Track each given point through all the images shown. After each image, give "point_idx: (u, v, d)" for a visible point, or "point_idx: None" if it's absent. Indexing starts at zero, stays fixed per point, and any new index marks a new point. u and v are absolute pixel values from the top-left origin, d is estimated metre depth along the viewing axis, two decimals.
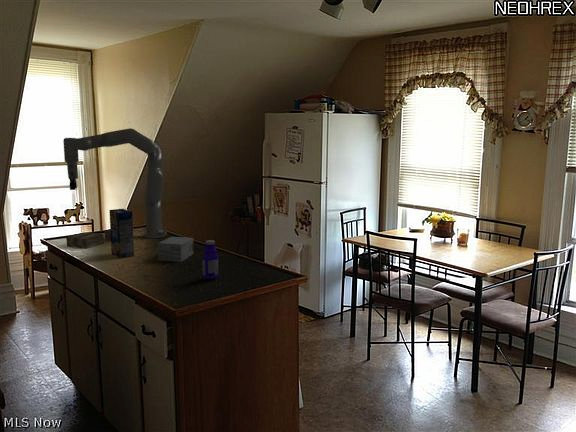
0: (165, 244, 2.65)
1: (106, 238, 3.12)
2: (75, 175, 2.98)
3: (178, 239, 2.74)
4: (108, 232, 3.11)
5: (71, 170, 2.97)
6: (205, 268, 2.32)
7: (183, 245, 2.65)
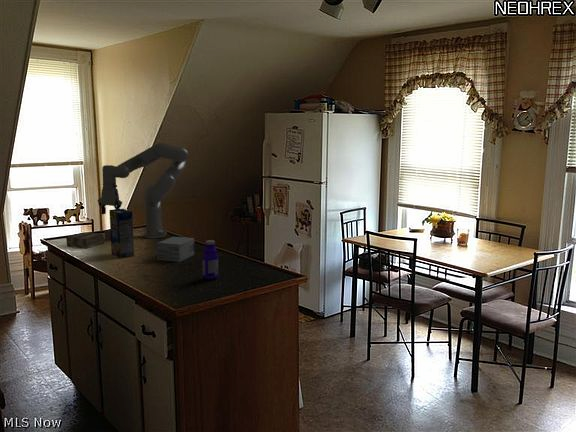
0: (164, 244, 2.65)
1: (106, 238, 3.12)
2: None
3: (178, 239, 2.74)
4: (108, 232, 3.11)
5: (116, 197, 3.08)
6: (205, 268, 2.32)
7: (181, 246, 2.65)
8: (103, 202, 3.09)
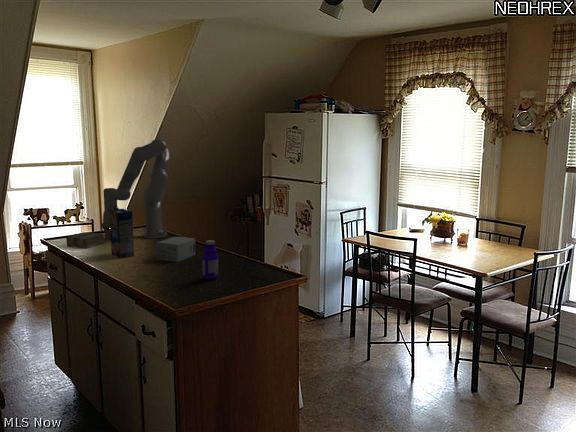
0: (163, 244, 2.66)
1: (106, 238, 3.12)
2: None
3: (179, 239, 2.74)
4: (108, 232, 3.11)
5: None
6: (205, 268, 2.32)
7: (180, 246, 2.65)
8: (105, 225, 3.12)
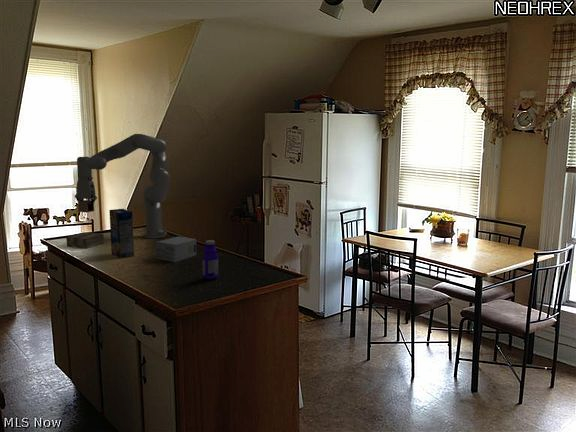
0: (162, 243, 2.66)
1: (80, 210, 2.95)
2: (94, 194, 2.96)
3: (179, 239, 2.74)
4: (81, 203, 2.94)
5: (92, 189, 2.94)
6: (205, 268, 2.32)
7: (177, 246, 2.64)
8: (78, 195, 2.95)
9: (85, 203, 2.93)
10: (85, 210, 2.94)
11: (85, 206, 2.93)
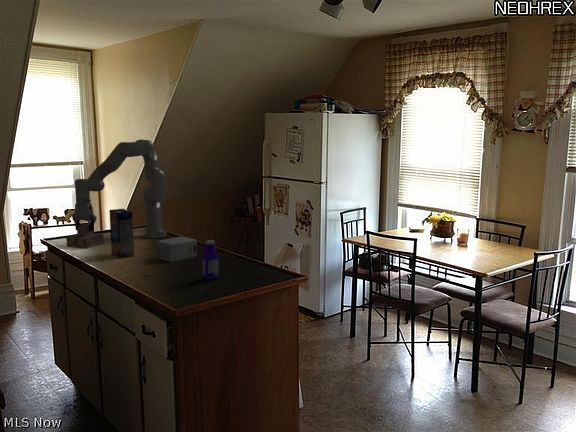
0: (160, 243, 2.68)
1: (79, 234, 2.96)
2: None
3: (180, 239, 2.73)
4: (80, 227, 2.95)
5: (90, 211, 2.94)
6: (205, 268, 2.32)
7: (174, 246, 2.64)
8: (77, 217, 2.96)
9: (84, 228, 2.94)
10: (84, 234, 2.95)
11: (84, 231, 2.94)
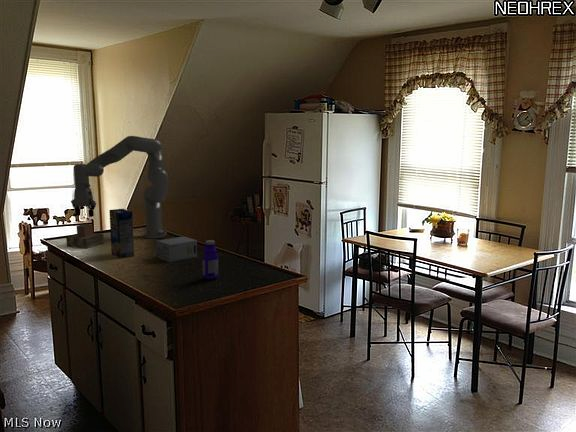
0: (160, 242, 2.68)
1: (78, 234, 2.96)
2: None
3: (180, 239, 2.73)
4: (80, 227, 2.95)
5: (89, 197, 2.93)
6: (205, 268, 2.32)
7: (173, 246, 2.64)
8: (76, 203, 2.94)
9: (83, 228, 2.94)
10: (83, 234, 2.95)
11: (83, 231, 2.94)
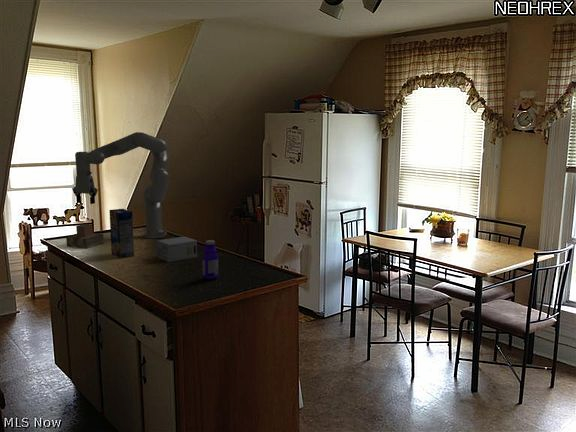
0: (160, 242, 2.69)
1: (78, 234, 2.96)
2: None
3: (180, 239, 2.73)
4: (80, 227, 2.95)
5: (91, 184, 2.96)
6: (205, 268, 2.32)
7: (172, 246, 2.64)
8: (78, 190, 2.97)
9: (83, 228, 2.94)
10: (83, 235, 2.94)
11: (83, 231, 2.94)
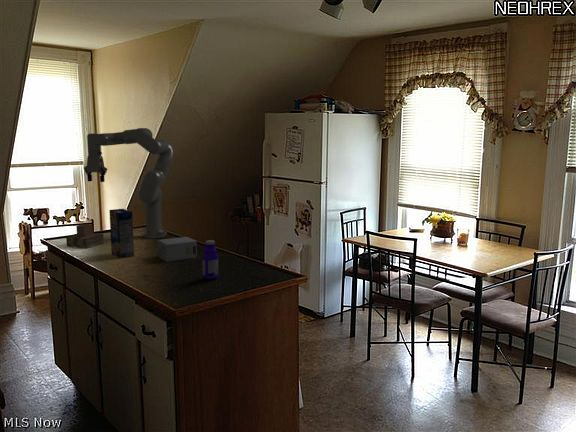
0: (160, 242, 2.70)
1: (78, 234, 2.96)
2: None
3: (180, 239, 2.73)
4: (80, 227, 2.95)
5: (101, 163, 3.20)
6: (205, 268, 2.32)
7: (170, 246, 2.64)
8: (89, 169, 3.21)
9: (83, 228, 2.94)
10: (83, 234, 2.94)
11: (83, 231, 2.94)
